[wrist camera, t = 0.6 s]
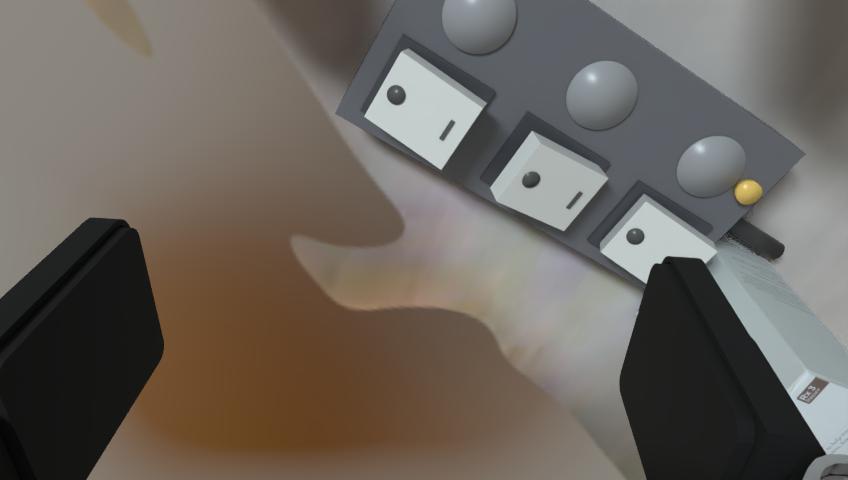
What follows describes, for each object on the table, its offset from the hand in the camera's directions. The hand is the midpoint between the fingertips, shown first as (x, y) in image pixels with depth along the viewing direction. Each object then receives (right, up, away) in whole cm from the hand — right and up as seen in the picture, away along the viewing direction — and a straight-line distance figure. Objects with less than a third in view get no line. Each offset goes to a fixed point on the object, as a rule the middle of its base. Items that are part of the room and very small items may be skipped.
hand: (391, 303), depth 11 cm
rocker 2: (+8, +5, +23) cm, 24 cm away
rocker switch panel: (+12, +8, +27) cm, 30 cm away
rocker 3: (+14, +1, +25) cm, 29 cm away
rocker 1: (+1, +8, +21) cm, 22 cm away
